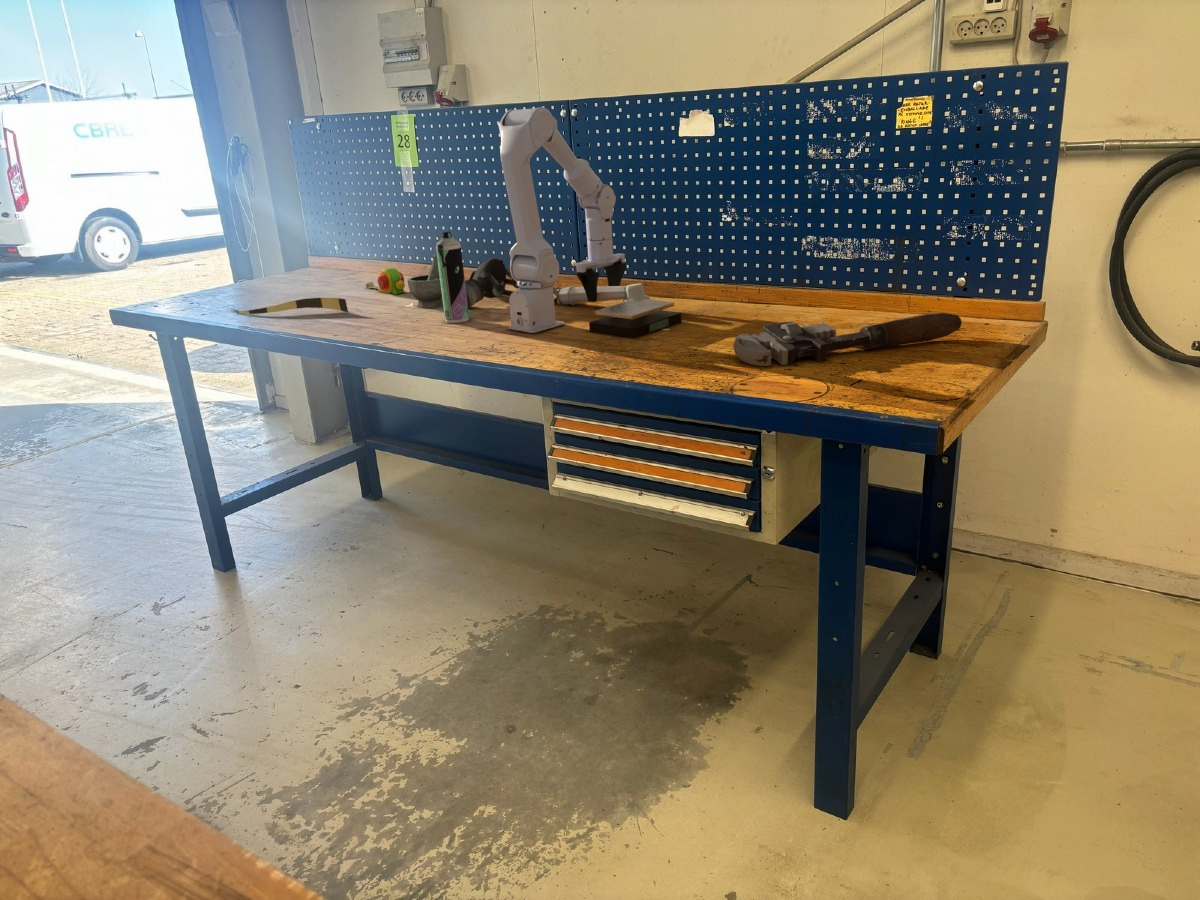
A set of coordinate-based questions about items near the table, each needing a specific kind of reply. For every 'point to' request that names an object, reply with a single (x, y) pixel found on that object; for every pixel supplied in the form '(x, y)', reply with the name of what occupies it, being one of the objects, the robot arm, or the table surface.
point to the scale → (635, 324)
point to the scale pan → (634, 308)
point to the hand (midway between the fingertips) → (603, 298)
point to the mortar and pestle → (427, 287)
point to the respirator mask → (490, 282)
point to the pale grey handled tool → (602, 294)
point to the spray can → (452, 279)
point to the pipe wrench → (837, 338)
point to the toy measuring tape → (389, 281)
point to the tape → (303, 305)
